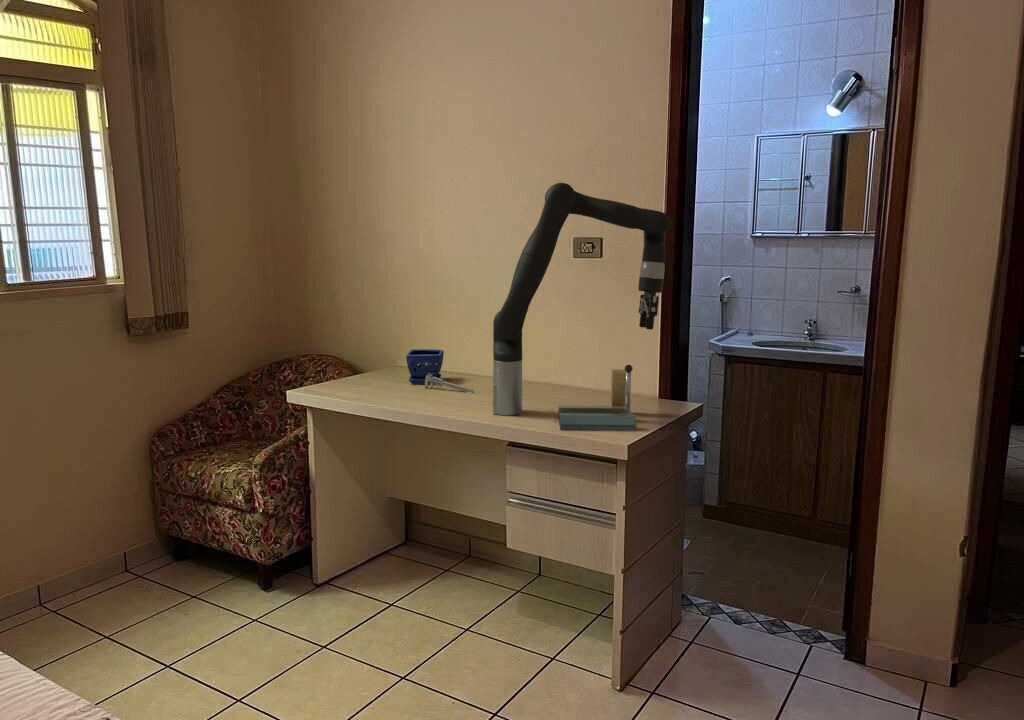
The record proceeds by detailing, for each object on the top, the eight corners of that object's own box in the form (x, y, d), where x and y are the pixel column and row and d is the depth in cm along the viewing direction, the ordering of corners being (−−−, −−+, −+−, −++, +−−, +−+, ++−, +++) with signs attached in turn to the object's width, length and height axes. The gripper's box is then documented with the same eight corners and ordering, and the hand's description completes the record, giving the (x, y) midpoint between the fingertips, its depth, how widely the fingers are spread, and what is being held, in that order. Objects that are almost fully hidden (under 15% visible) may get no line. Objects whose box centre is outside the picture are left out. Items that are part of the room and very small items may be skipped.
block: (610, 412, 255) (611, 369, 253) (627, 412, 255) (628, 369, 253) (611, 414, 251) (612, 371, 249) (629, 415, 251) (630, 371, 249)
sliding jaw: (558, 414, 246) (559, 363, 243) (630, 414, 246) (632, 364, 243) (558, 416, 243) (559, 365, 240) (632, 417, 242) (633, 366, 239)
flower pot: (441, 385, 297) (440, 354, 295) (406, 385, 298) (405, 354, 296) (444, 379, 310) (444, 349, 309) (410, 378, 311) (410, 348, 309)
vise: (558, 417, 248) (558, 404, 247) (628, 417, 247) (628, 404, 247) (560, 430, 232) (560, 416, 231) (635, 430, 231) (635, 416, 231)
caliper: (424, 389, 292) (424, 372, 290) (426, 388, 292) (426, 372, 291) (474, 394, 284) (474, 376, 283) (475, 393, 285) (475, 376, 284)
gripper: (634, 275, 254) (629, 325, 256) (645, 275, 240) (639, 328, 241) (657, 277, 255) (652, 327, 256) (669, 278, 240) (663, 331, 242)
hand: (646, 328), depth 249 cm, fingers open, 8 cm apart
